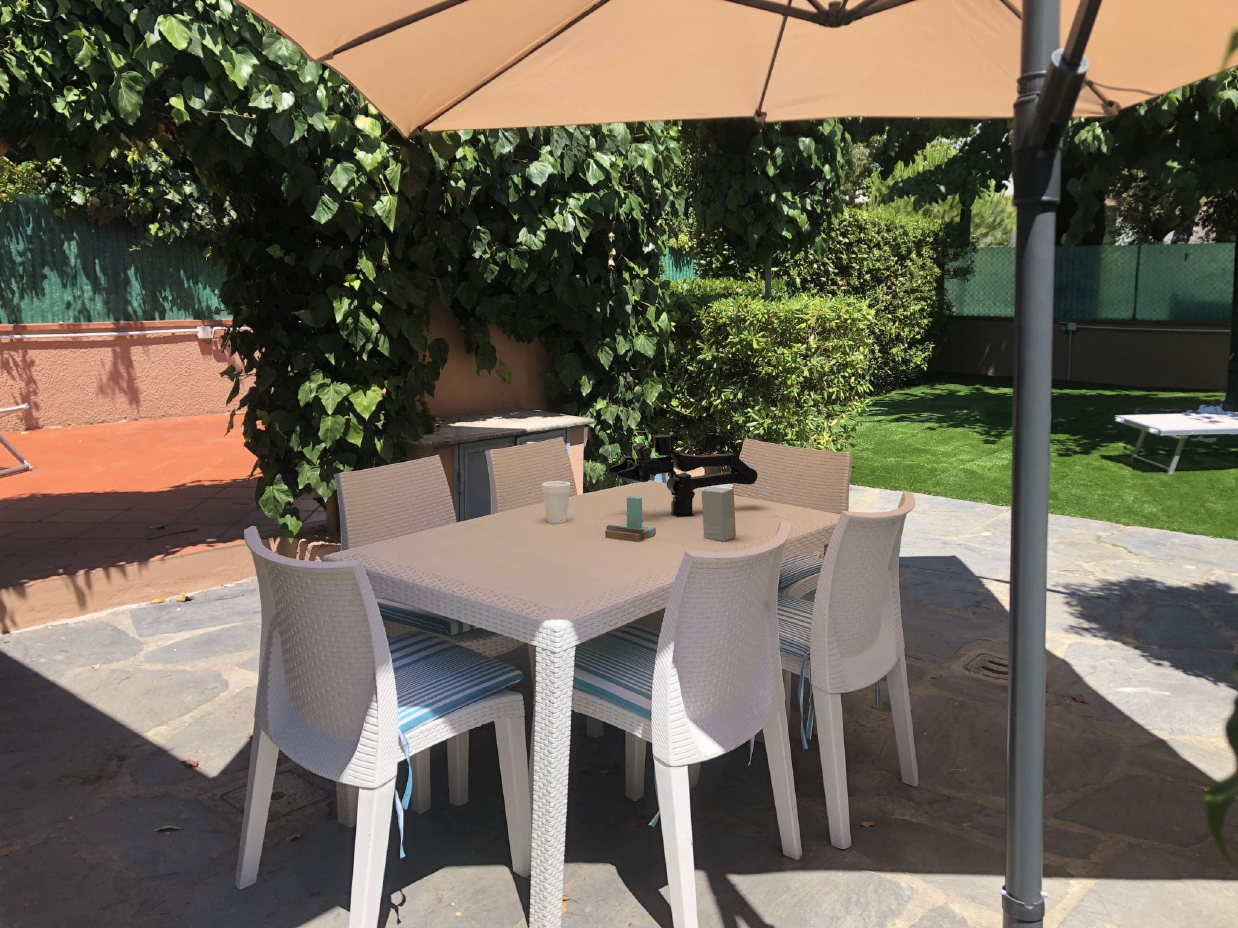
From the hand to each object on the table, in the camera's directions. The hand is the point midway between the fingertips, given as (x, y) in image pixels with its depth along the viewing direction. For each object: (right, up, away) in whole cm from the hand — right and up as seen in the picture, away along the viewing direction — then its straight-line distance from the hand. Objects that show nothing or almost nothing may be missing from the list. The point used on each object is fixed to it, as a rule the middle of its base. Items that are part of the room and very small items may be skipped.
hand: (612, 471), depth 331 cm
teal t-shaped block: (+8, -19, -17) cm, 27 cm away
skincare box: (+33, -21, -24) cm, 46 cm away
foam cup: (-19, -17, +2) cm, 25 cm away
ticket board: (+5, -21, -22) cm, 30 cm away
